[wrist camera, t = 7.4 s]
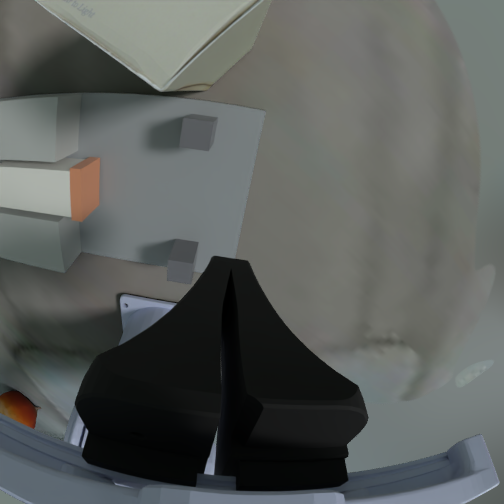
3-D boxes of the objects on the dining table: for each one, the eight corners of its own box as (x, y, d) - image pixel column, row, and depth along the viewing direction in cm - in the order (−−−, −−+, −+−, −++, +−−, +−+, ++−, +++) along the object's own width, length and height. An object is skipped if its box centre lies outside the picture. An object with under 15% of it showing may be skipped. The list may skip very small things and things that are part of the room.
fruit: (40, 425, 39) (11, 441, 31) (19, 388, 39) (-12, 402, 32) (53, 420, 36) (21, 438, 29) (30, 378, 37) (-5, 394, 29)
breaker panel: (231, 269, 24) (230, 303, 20) (8, 231, 21) (-16, 253, 18) (264, 110, 18) (270, 114, 14) (1, 98, 15) (-32, 106, 12)
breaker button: (99, 204, 19) (82, 221, 17) (18, 194, 18) (-2, 208, 16) (100, 157, 18) (80, 169, 15) (16, 152, 17) (-7, 163, 14)
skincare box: (139, 38, 15) (21, -1, 4) (187, -10, 13) (123, -106, 3) (208, 94, 17) (155, 102, 7) (259, 46, 16) (285, -17, 5)
